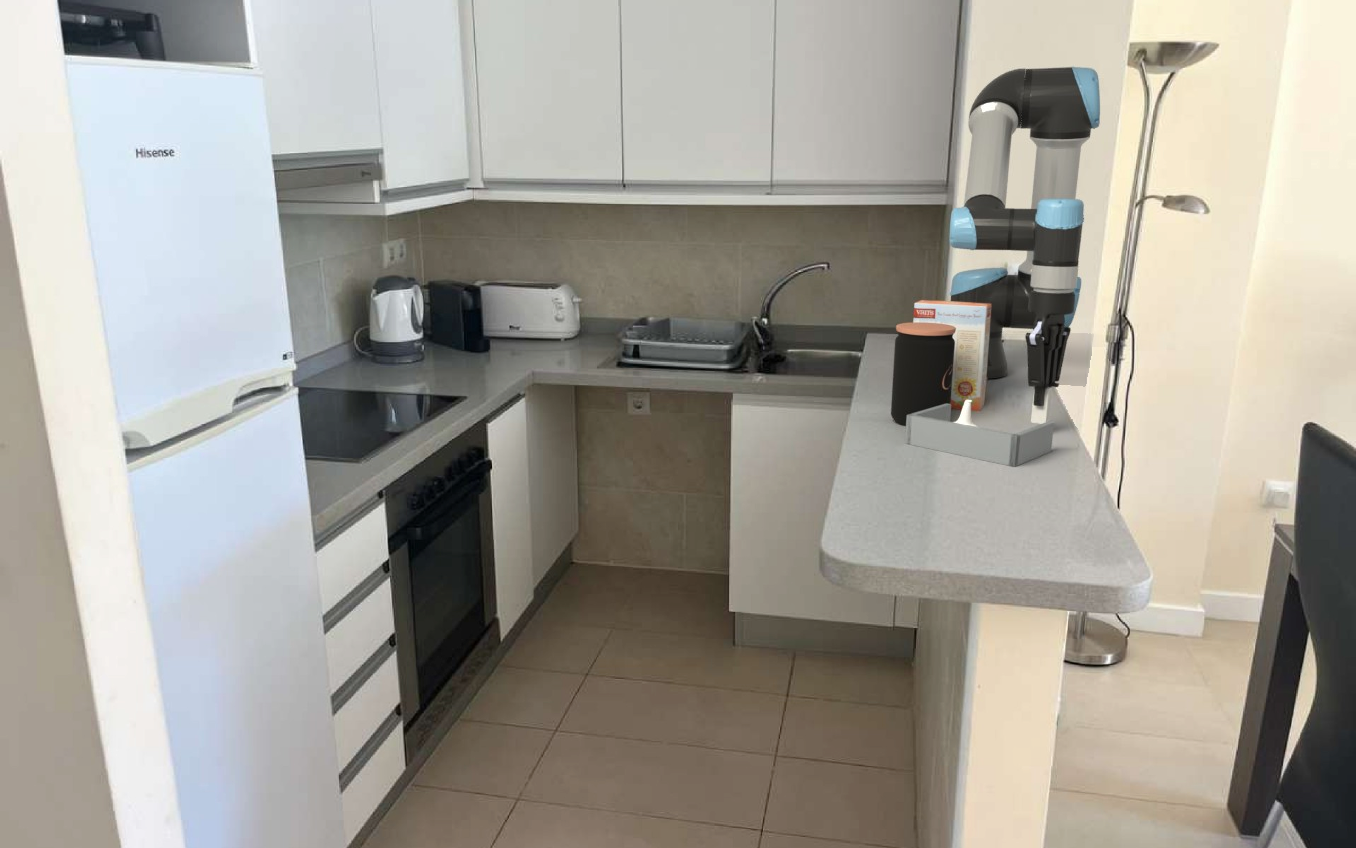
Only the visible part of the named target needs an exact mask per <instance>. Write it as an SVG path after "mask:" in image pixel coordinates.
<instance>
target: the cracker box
mask: <svg viewBox="0 0 1356 848" xmlns="http://www.w3.org/2000/svg"><path fill="white" fill-rule="evenodd" d="M990 319H991V304H990V303H971V302H955V301H951V300H928V299H927V300H926V299H920V300H918V301H916V302H914V306H913V319H912V323H913V322H925V323H939V324H946V325H951V326H954V327H955V328H956V331H955V333H954V334H953V337H952V338H953V339H954V340H955V349H954V363H953V377H952V390H951V410H953V409H954V410H962V408H963V405H964V402H965V400H972V402H971V412H972V411H973V412H980V411H981V410H982V409H983V407H984V406H985V399H986V398H985V397H986V389H985V388H987V384H986V375H987V361H988V347H989V334H990Z"/></svg>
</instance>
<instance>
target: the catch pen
mask: <svg viewBox="0 0 1356 848" xmlns="http://www.w3.org/2000/svg"><path fill="white" fill-rule="evenodd" d="M951 412H952V408H951V404H947V403H946V404H943V405H939V406H936V407H932V408H929V409H926V410H922V411H919V412H915V413H912V414H909V415H907V421H906V426H905V437H904V438H905V439H904V440H905V441H904V444H906V445H911V446H916V447H919V448H925V449H930V450H934V451H940V452H943V453H948V454H953V455H957V456H963V457H967V458H972V459H977V460H980V461H986V462H991V463H995V464H1000V465H1004V466H1009V467H1015V468H1016V467H1017V466H1020V465H1022V464H1025V463H1027V462H1030V461H1032V460H1035V459H1037V458H1039V457H1041V456H1044V455H1047V454H1049V453H1052V447H1053V438H1054V437H1053V436H1054V429H1055V422H1053V421H1049V422H1046V423H1043V424H1038V425H1035V426H1032V427H1030V428H1027V429H1025V430H1021V431H1018V432H1017V433H1012V432H1011V433H1010V432H1005V431H1000V430H996V429H990V428H984V427H980V426H978V427H975V426H970V425H964V424H959V423H954V422H955V421H951V415H952V413H951Z"/></svg>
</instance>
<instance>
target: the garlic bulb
mask: <svg viewBox="0 0 1356 848" xmlns="http://www.w3.org/2000/svg"><path fill="white" fill-rule="evenodd" d="M971 402H972V400H965V402H964V405H963V408H962V409H961V412H960V415H959V417H958V419H957V420H956V421H953V422H954V423H959V424H964V425H970V426H975V427H979V426H978V425H977V424H975V423H973V421H972V410H971Z"/></svg>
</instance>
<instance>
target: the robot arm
mask: <svg viewBox="0 0 1356 848" xmlns="http://www.w3.org/2000/svg"><path fill="white" fill-rule="evenodd" d="M1099 80H1100V79H1099V75H1098V72H1097V71H1096V70H1095V69H1094V68H1093V67H1081V66H1080V67H1079V66H1077V67H1076V66H1067V67H1066V66H1065V67H1064V66H1062V67H1046V68H1045V67H1043V68H1016V69H1012V70H1009V71H1006V72H1003V73H1002V74H1000V75H998V76H997V77H995V78H994V79H992V80H991V81H990V82H988V84H987V85H985V87H984V88H983V89H982V90H981V91H980V92H979V94H978V95H977V96H976V98H975V99H974V102H973V103H972V105H971V108H970V111H969V115H968V123H967V124H968V125H967V126H968V129H969V132H970V133H971V135H972V136H971V141H970V151H969V159H968V168H967V177H966V185H965V193H964V201H963V206H962V207H955V208H954V209H952V210H951V215H950V222H949V246H951V247H952V248H954V249H958V250H959V249H961V250H970V251H977V250H978V251H981V250H982V251H1015V252H1016V251H1018V252H1019V251H1020V252H1026V259H1025V260H1024V262H1022V263H1021V264H1020V265H1018V266H1017V267H1018V268H1017V274H1008V273H1009V271H1008V269H1007V268H1006V267H984V268H975V269H968V270H963V271H959V272H957V273H956V274H955V275H953V278H952V280H951V288H950V292H949V296H950V301H955V302H971V303H990V304H991V319H990V334H989V347H988V361H987V375H986V377H987V379H996V378H999V379H1000V378H1003V377H1005V376H1007V375H1008V368H1009V367H1008V360H1007V358H1006V353H1005V349H1004V346H1003V345H1004V344H1003V341H1002V338H1003V328H1004V329H1023V330H1032V332H1026V333H1025V338H1024V339H1025V342H1026V346H1027V347H1026V350H1027V351H1026V352H1027V355H1026V356H1027V385H1028V387H1031V388H1032V387H1033V393H1032V394H1033V397H1032V405H1031V417H1030V423H1033V424H1038V425H1040V424H1043V423H1046V422H1050V420H1051V419H1050V417H1051V410H1052V409H1051V406H1052V398H1053V388H1058V387H1059V386H1060V383H1058V382H1059V381H1060V378H1061V373H1062V369H1063V364H1064V359H1065V353H1066V349H1067V348H1066V347H1067V344H1068V339H1069V337H1070V335H1071V331H1072V329H1071V327H1070V326H1071V325H1072V323H1073V320H1074V317H1075V315H1076V311H1077V308H1078V303H1079V299H1080V295H1081V294H1080V292H1081V288H1082V277H1080V276H1079V259H1080V257H1079V256H1080V249H1081V241H1082V232H1083V225H1084V221H1085V217H1084V216H1085V215H1084V212H1085V211H1084V210H1085V209H1084V207H1085V204H1084V201H1083V200H1081V199H1080V198H1079V199H1078V198H1076V197H1077V189H1078V188H1077V187H1078V178H1079V169H1080V161H1081V150H1082V146H1083V145H1084V144H1085V143H1086V142H1087V141H1088V140H1090V138H1091V131H1092V129H1093V130H1095V129H1096V128H1097V129H1098V128H1099V127H1100V124H1101V123H1100V122H1101V121H1100V116H1101V115H1100V114H1101V99H1100V98H1101V96H1100V81H1099ZM1018 129H1021V130H1022V129H1029V131H1030V133H1029V139H1030V140H1031V141H1032V142H1033V143H1034V144H1035V146H1036V151H1035V164H1034V172H1033V173H1034V174H1033V183H1032V184H1033V185H1032V193H1031V194H1032V195H1031V205H1030V206H1031V207H1030V208H1012V207H1011V208H1009V207H1007V206H1006V204H1007V193H1008V192H1007V191H1008V182H1009V171H1010V170H1009V168H1010V160H1011V159H1010V158H1011V147H1012V136H1013V134H1015V132H1016V130H1018ZM1006 207H1007V208H1006Z"/></svg>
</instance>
